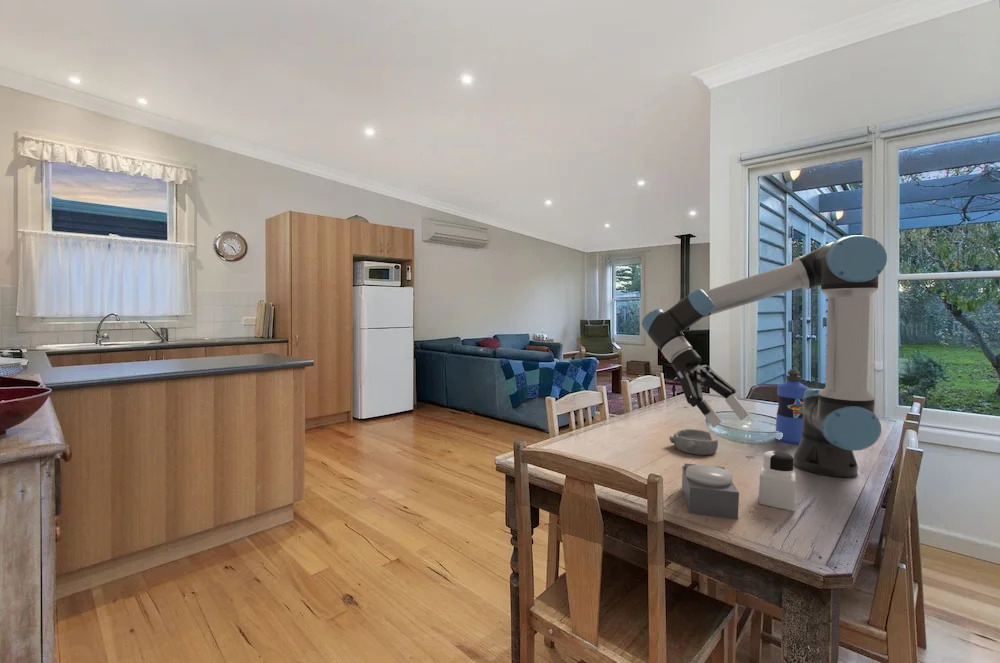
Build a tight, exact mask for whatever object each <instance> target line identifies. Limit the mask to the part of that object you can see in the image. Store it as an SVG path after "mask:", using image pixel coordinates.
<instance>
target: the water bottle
mask: <svg viewBox="0 0 1000 663" xmlns="http://www.w3.org/2000/svg"><path fill="white" fill-rule="evenodd" d="M800 374H801V372H800V371H799V370H797V369H796V368H795V369H794V368H792V369H789V370H788V371H787V375H785V376H786V377H785V378H786V381H785V382H783V383H780V384H778V385H777V388H776V394H777V403H778V404H777V405H778V407H777V410H776V411H777V412H776V417H775V418H776V420H775V421H776V422H775V432H776V431H779V432H782V433H783V437H782V439H780V441H779V442H781V443H785V444H790V445H791V444H792V445H799V443H800V441H801V439H802V423H803V398H804V392H805V391H806V390H807V389H810V388H809V387H808V386H807V385H804V384H802V383H801V379H802V376H800Z"/></svg>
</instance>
